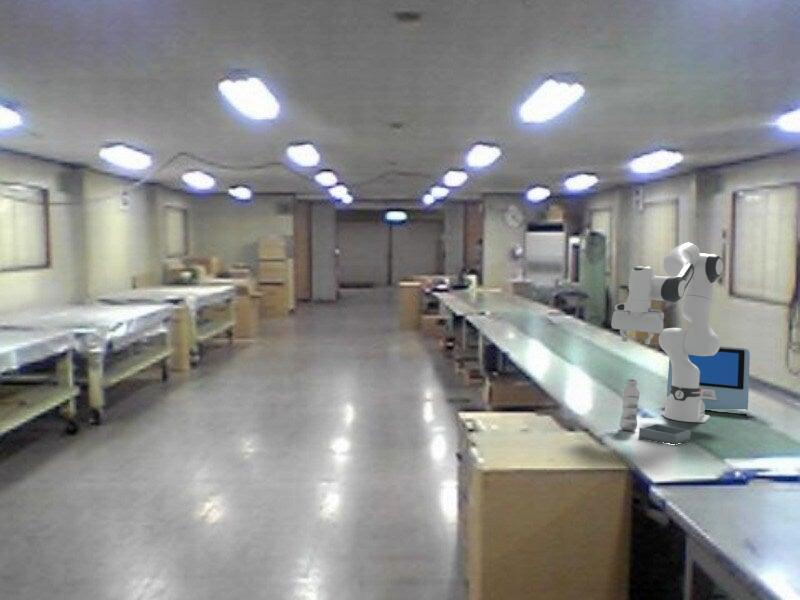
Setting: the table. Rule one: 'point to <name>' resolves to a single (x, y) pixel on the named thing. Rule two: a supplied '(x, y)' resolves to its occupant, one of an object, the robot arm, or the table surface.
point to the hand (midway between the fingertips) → (635, 342)
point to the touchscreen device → (722, 378)
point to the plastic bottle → (629, 406)
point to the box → (664, 434)
